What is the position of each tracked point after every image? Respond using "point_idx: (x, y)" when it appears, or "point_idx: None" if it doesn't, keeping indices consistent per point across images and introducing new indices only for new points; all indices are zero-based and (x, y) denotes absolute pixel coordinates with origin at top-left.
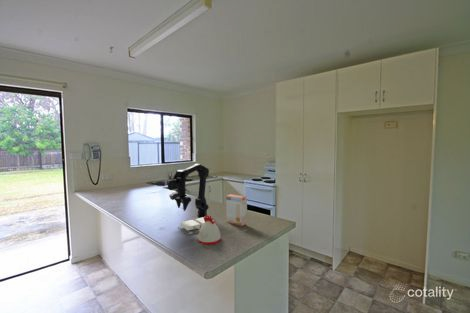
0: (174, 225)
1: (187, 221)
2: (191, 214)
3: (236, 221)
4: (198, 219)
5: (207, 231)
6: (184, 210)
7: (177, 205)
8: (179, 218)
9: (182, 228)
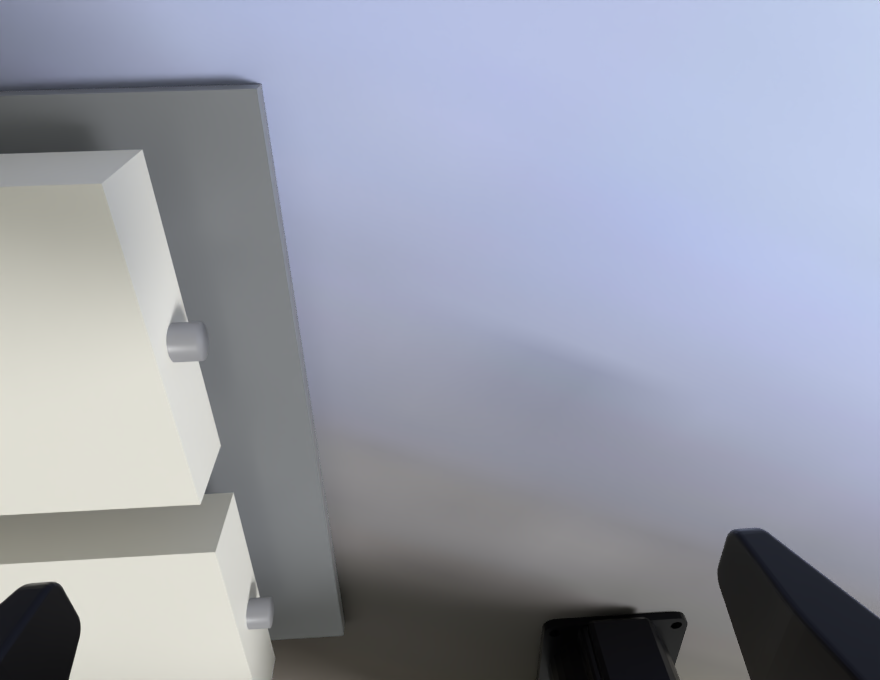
0: (494, 72)
1: (95, 368)
2: (830, 574)
3: None
4: (146, 590)
5: None
6: (19, 619)
7: (877, 635)
8: (843, 348)
9: (80, 150)
